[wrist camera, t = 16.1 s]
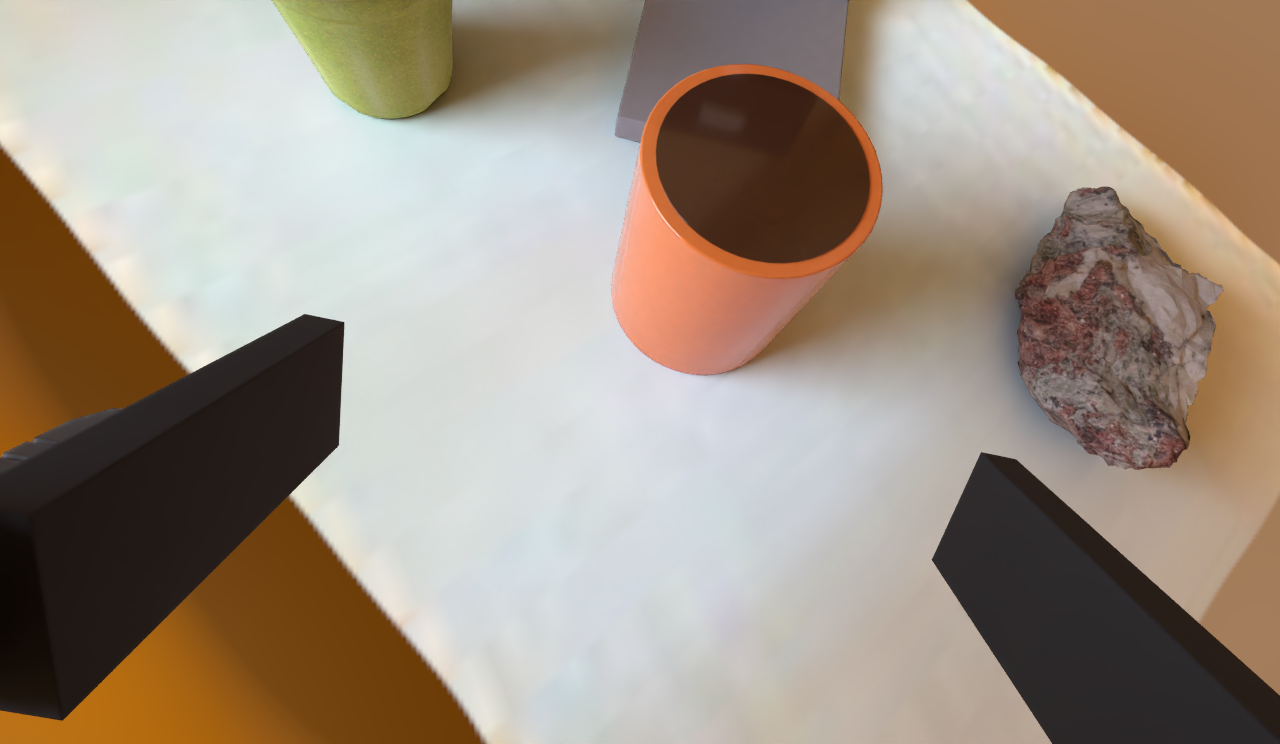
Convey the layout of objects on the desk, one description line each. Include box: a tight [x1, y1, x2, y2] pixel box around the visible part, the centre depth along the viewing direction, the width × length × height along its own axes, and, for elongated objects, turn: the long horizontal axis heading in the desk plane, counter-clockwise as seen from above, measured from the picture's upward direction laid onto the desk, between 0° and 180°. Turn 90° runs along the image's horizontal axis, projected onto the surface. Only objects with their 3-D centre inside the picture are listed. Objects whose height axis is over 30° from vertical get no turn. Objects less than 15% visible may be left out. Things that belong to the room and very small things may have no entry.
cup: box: [611, 64, 882, 375], centre depth 25 cm, size 8×8×10 cm
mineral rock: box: [1015, 187, 1224, 470], centre depth 30 cm, size 15×8×4 cm, turn 151°
